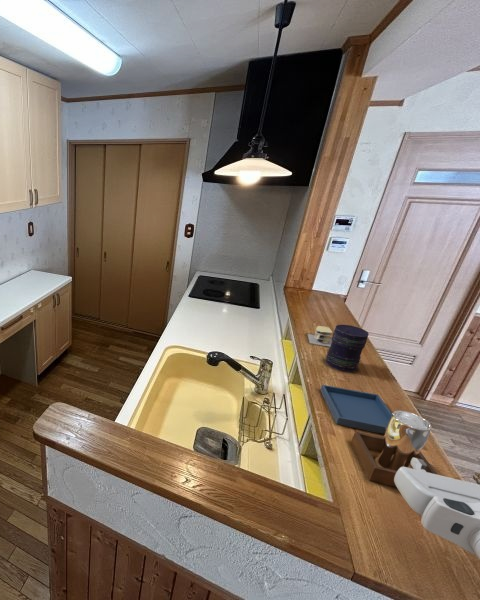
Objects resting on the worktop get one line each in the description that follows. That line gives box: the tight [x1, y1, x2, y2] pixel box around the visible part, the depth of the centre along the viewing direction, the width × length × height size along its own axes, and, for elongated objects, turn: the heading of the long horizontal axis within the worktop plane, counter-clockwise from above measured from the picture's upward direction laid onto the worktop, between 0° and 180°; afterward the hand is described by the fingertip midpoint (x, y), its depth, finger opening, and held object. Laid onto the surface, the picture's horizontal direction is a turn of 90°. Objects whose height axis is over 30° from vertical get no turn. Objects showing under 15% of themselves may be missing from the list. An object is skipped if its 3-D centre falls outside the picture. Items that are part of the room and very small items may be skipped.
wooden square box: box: [350, 431, 438, 488], centre depth 80 cm, size 13×13×4 cm
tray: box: [320, 384, 393, 435], centre depth 99 cm, size 15×17×2 cm
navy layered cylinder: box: [324, 324, 369, 373], centre depth 122 cm, size 10×10×15 cm
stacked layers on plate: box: [306, 325, 333, 348], centre depth 142 cm, size 10×9×6 cm
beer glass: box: [374, 409, 433, 471], centre depth 78 cm, size 7×7×15 cm
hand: (446, 467), depth 64 cm, fingers open, 8 cm apart
